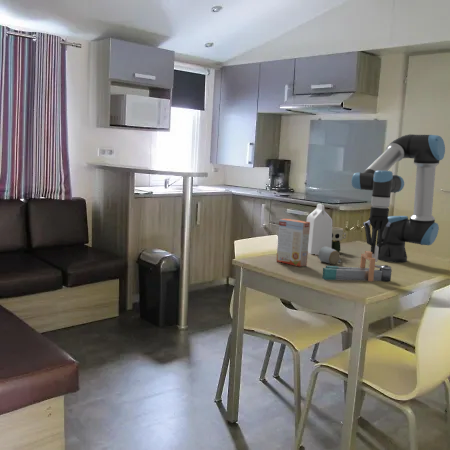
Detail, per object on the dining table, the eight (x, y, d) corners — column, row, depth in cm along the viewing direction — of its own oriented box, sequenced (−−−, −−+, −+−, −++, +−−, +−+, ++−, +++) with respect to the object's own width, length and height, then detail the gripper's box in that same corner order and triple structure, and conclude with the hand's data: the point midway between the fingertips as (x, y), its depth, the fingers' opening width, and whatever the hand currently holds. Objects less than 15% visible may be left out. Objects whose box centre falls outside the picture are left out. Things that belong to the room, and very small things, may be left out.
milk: (331, 254, 274) (335, 206, 271) (310, 254, 272) (314, 205, 268) (322, 250, 286) (326, 203, 282) (302, 249, 284) (306, 202, 280)
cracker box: (307, 265, 244) (310, 221, 241) (299, 267, 240) (303, 222, 237) (283, 260, 253) (286, 217, 250) (275, 261, 249) (279, 218, 246)
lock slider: (363, 275, 229) (366, 249, 228) (373, 281, 219) (375, 254, 218) (359, 275, 229) (361, 249, 227) (368, 281, 219) (371, 254, 217)
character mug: (322, 251, 283) (324, 227, 281) (326, 249, 289) (328, 226, 287) (342, 254, 278) (344, 230, 276) (346, 252, 284) (348, 228, 282)
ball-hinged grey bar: (387, 278, 227) (388, 267, 226) (392, 281, 222) (393, 270, 221) (321, 277, 222) (322, 265, 222) (325, 280, 218) (326, 268, 217)
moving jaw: (385, 277, 229) (386, 263, 228) (391, 281, 222) (393, 266, 221) (325, 275, 226) (326, 260, 225) (329, 278, 220) (330, 264, 219)
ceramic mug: (329, 265, 247) (331, 249, 246) (317, 261, 254) (318, 246, 253) (344, 264, 253) (346, 248, 252) (332, 260, 260) (334, 245, 259)
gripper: (390, 206, 225) (384, 259, 228) (361, 205, 223) (356, 258, 226) (398, 208, 217) (392, 263, 221) (369, 207, 215) (363, 262, 219)
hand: (374, 261), depth 223 cm, fingers closed
